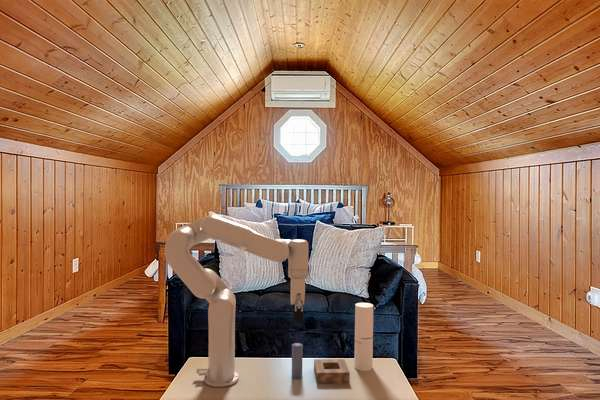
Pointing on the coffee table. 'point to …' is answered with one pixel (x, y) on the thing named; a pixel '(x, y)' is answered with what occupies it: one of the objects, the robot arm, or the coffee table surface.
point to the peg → (297, 360)
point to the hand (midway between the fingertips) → (297, 317)
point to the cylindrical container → (363, 336)
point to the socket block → (331, 371)
